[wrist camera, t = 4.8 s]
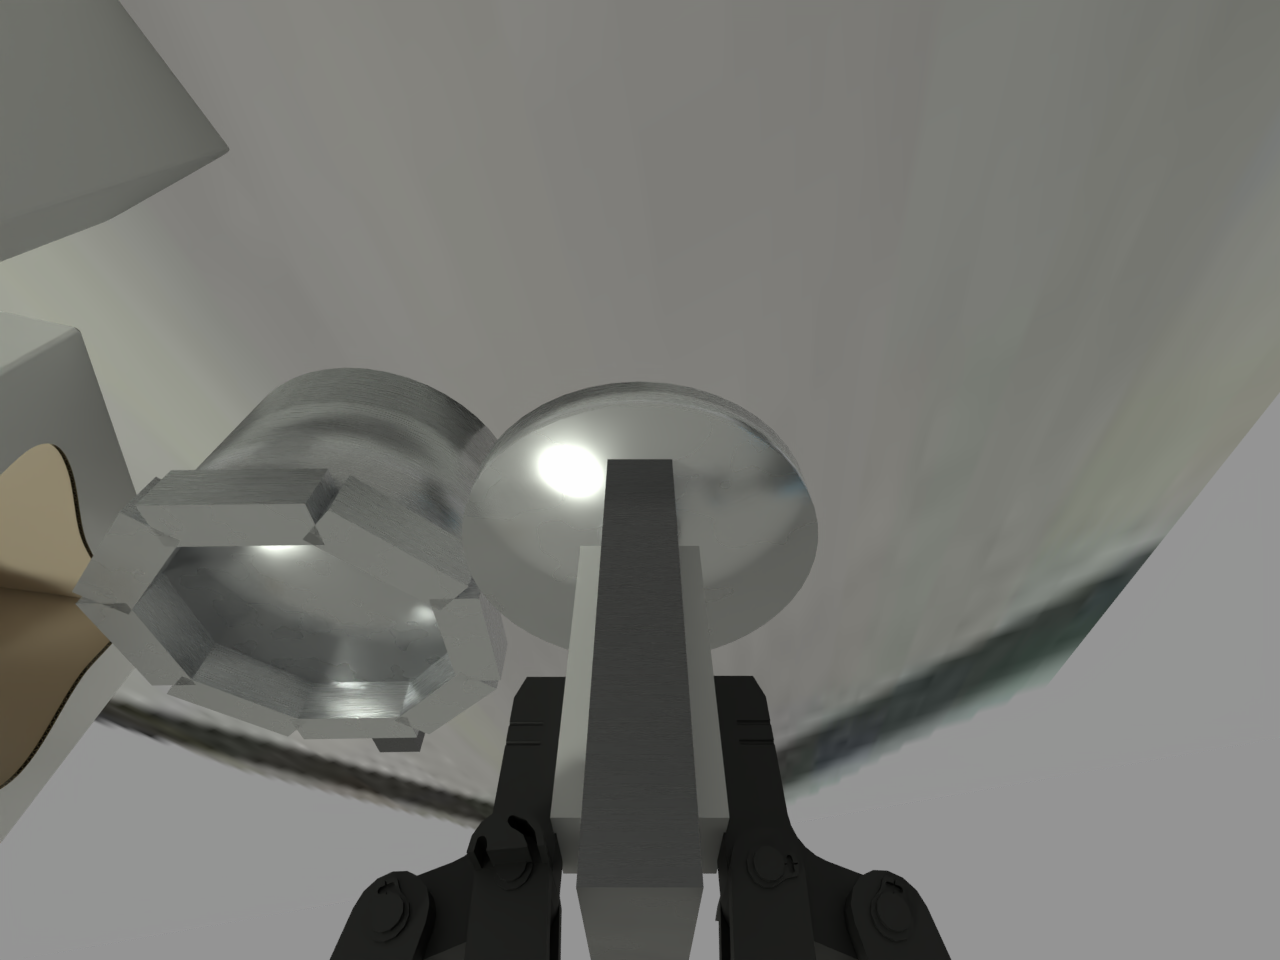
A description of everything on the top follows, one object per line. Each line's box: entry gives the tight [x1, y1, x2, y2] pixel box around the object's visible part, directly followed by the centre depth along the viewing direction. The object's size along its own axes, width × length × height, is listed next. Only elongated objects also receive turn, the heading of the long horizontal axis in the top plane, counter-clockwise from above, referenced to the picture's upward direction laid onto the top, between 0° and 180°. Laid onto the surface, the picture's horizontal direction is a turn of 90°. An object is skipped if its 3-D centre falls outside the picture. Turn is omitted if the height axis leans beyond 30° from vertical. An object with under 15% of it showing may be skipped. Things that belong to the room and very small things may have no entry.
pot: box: [72, 368, 508, 752], centre depth 31 cm, size 16×22×11 cm
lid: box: [462, 382, 818, 960], centre depth 13 cm, size 10×10×10 cm
